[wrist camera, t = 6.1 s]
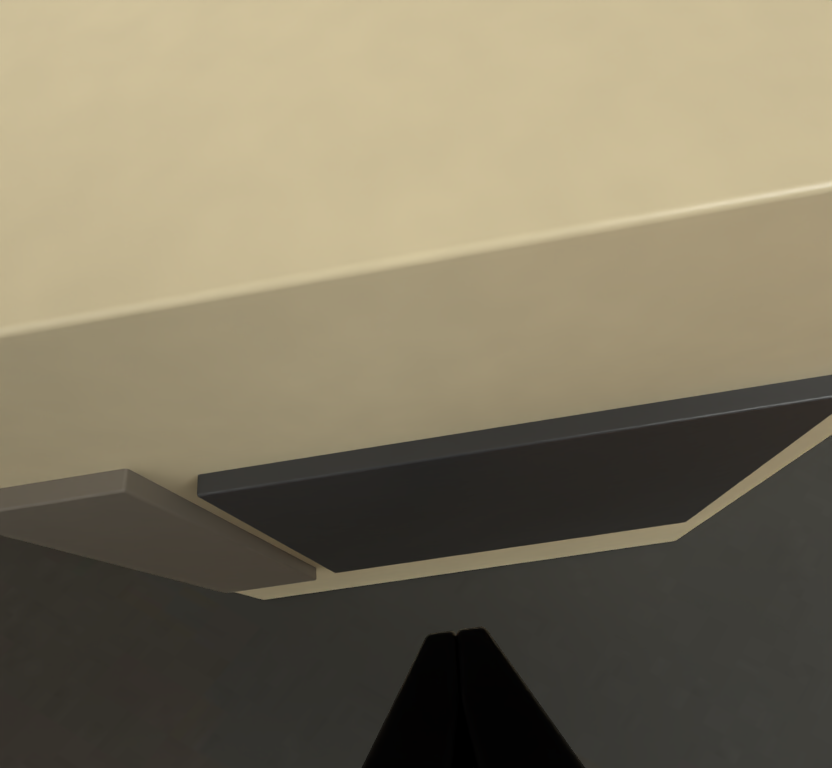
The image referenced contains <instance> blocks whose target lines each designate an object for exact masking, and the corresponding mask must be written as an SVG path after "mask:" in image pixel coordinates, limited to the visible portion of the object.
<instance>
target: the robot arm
mask: <svg viewBox="0 0 832 768" xmlns="http://www.w3.org/2000/svg"><path fill="white" fill-rule="evenodd" d="M362 768H585V767H584V766H583V764H582V763H581V761H580V760H579V759H578V757H577V756H576V754H575V753H574V752H573V750H572V749H571V747H570V746H569V745H568V743H567V742H566V740H565V739H564V737H563V736H562V735H561V733H560V732H559V730H558V729H557V728H556V726H555V725H554V723H553V722H552V721H551V719H550V718H549V716H548V715H547V714H546V712H545V711H544V709H543V708H542V707H541V705H540V704H539V702H538V701H537V699H536V698H535V697H534V695H533V694H532V692H531V691H530V690H529V688H528V687H527V685H526V684H525V683H524V681H523V680H522V678H521V677H520V676H519V674H518V673H517V671H516V670H515V668H514V667H513V666H512V664H511V663H510V661H509V660H508V659H507V657H506V656H505V654H504V653H503V652H502V650H501V649H500V647H499V646H498V645H497V643H496V642H495V640H494V639H493V637H492V636H491V635H490V633H489V632H488V631H487V630H486V629H485V628H484V627H475V628H468V629H461V630H459V631H458V632H457V636H456V634H455V632H453V631H446V632H439V633H432V634H429V635H428V636H427V637H426V638H425V640H424V642H423V644H422V646H421V648H420V650H419V652H418V654H417V656H416V658H415V660H414V662H413V664H412V666H411V668H410V670H409V672H408V674H407V676H406V678H405V681H404V683H403V685H402V687H401V689H400V691H399V693H398V695H397V697H396V699H395V701H394V703H393V705H392V707H391V709H390V711H389V713H388V715H387V717H386V719H385V721H384V723H383V725H382V727H381V729H380V731H379V734H378V736H377V738H376V740H375V742H374V744H373V746H372V748H371V750H370V752H369V754H368V756H367V758H366V760H365V762H364V764H363V766H362Z"/></svg>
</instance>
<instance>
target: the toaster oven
mask: <svg viewBox="0 0 832 768" xmlns="http://www.w3.org/2000/svg"><path fill="white" fill-rule="evenodd" d="M830 435H832V0H0V535H1V536H5V537H9V538H13V539H17V540H20V541H24V542H28V543H32V544H36V545H40V546H44V547H48V548H52V549H56V550H59V551H63V552H67V553H71V554H75V555H79V556H83V557H87V558H91V559H94V560H98V561H102V562H106V563H110V564H114V565H118V566H122V567H126V568H130V569H133V570H137V571H141V572H145V573H149V574H153V575H157V576H161V577H165V578H168V579H172V580H176V581H180V582H184V583H188V584H192V585H196V586H200V587H204V588H207V589H211V590H215V591H219V592H223V593H231V592H236V593H240V594H244V595H247V596H251V597H255V598H258V599H262V600H266V599H273V598H280V597H287V596H294V595H301V594H308V593H315V592H322V591H329V590H336V589H343V588H350V587H357V586H364V585H371V584H378V583H385V582H392V581H399V580H406V579H413V578H420V577H427V576H434V575H441V574H448V573H455V572H461V571H468V570H475V569H482V568H489V567H496V566H503V565H510V564H517V563H524V562H531V561H538V560H545V559H552V558H559V557H566V556H573V555H580V554H587V553H594V552H601V551H608V550H615V549H622V548H629V547H636V546H643V545H650V544H657V543H664V542H670V541H676V540H677V539H679V538H680V537H682V536H683V535H685V534H686V533H688V532H689V531H690V530H692V529H693V528H695V527H696V526H698V525H699V524H701V523H702V522H704V521H705V520H707V519H708V518H710V517H711V516H713V515H714V514H715V513H717V512H718V511H720V510H721V509H723V508H724V507H726V506H727V505H729V504H730V503H732V502H733V501H735V500H736V499H738V498H739V497H740V496H742V495H743V494H745V493H746V492H748V491H749V490H751V489H752V488H754V487H755V486H757V485H758V484H760V483H761V482H763V481H764V480H765V479H767V478H768V477H770V476H771V475H773V474H774V473H776V472H777V471H779V470H780V469H782V468H783V467H785V466H786V465H788V464H789V463H790V462H792V461H793V460H795V459H796V458H798V457H799V456H801V455H802V454H804V453H805V452H807V451H808V450H810V449H811V448H813V447H814V446H815V445H817V444H818V443H820V442H821V441H823V440H824V439H826V438H827V437H829V436H830Z"/></svg>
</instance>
